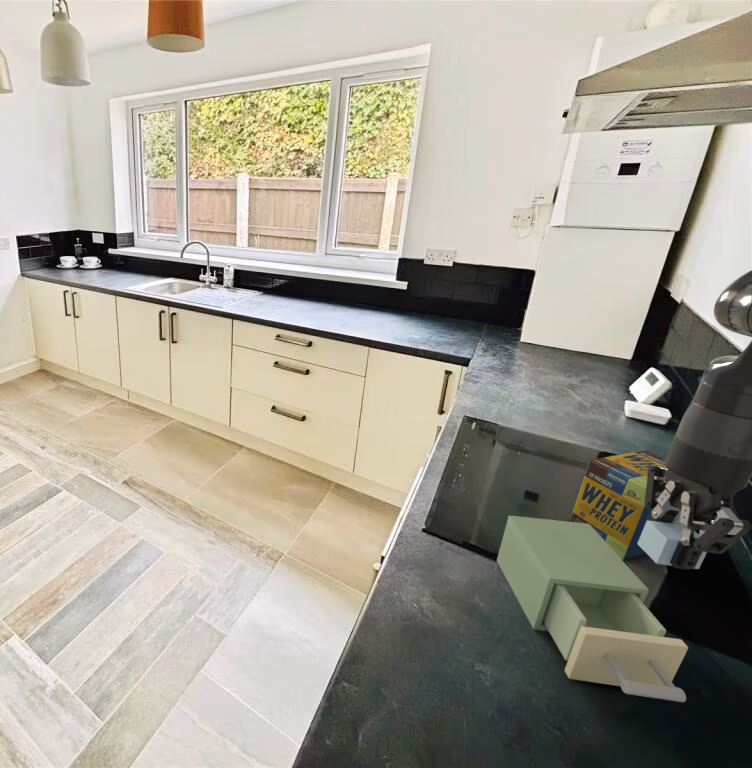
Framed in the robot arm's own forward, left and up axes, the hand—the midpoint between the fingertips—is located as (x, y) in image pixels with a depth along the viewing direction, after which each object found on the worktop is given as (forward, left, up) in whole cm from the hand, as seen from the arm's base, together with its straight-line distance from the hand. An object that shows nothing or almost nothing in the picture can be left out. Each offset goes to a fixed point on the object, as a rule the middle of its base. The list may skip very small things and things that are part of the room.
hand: (667, 554), depth 62 cm
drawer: (+8, +6, -14) cm, 17 cm away
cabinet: (+8, -6, -15) cm, 18 cm away
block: (0, 0, 0) cm, 0 cm away
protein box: (-12, -24, -15) cm, 30 cm away
